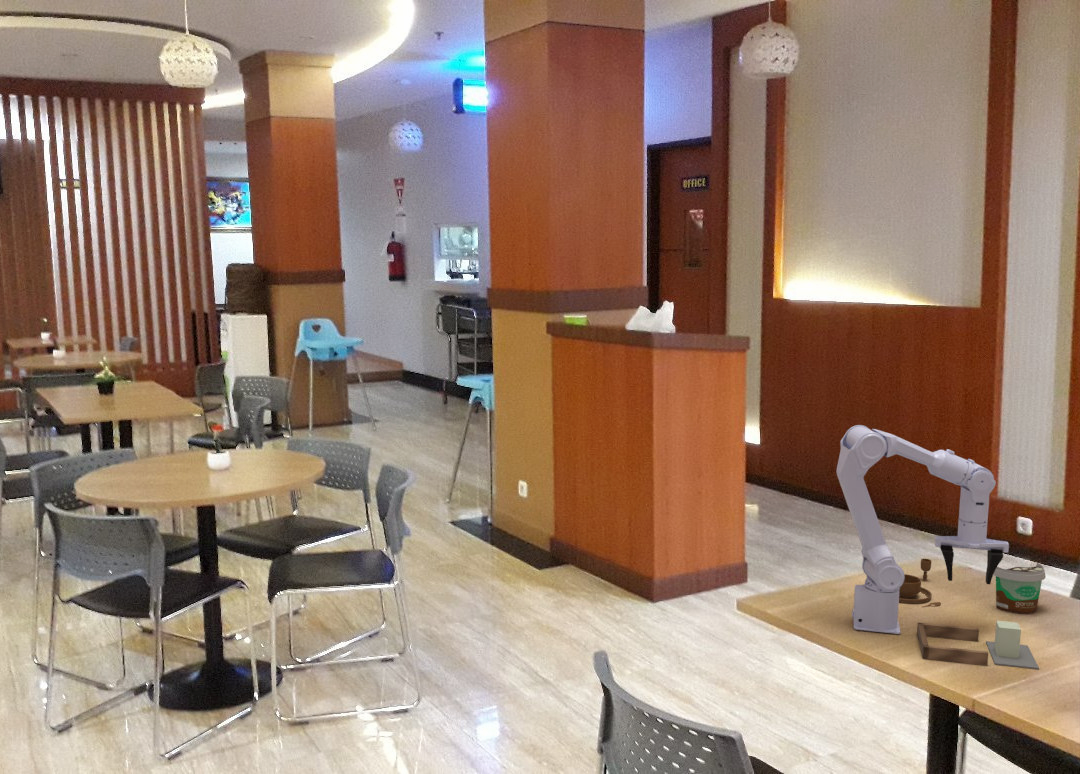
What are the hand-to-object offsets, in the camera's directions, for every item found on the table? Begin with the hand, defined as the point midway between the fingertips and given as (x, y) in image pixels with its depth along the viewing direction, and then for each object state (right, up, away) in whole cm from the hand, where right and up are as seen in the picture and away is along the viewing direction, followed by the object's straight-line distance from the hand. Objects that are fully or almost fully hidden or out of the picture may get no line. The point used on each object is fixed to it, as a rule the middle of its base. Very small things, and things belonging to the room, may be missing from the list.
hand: (968, 581), depth 222 cm
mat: (+3, -12, -14) cm, 19 cm away
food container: (+17, -9, +12) cm, 23 cm away
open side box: (-8, -12, -11) cm, 18 cm away
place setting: (-3, -8, +23) cm, 25 cm away
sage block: (+2, -12, -14) cm, 18 cm away
